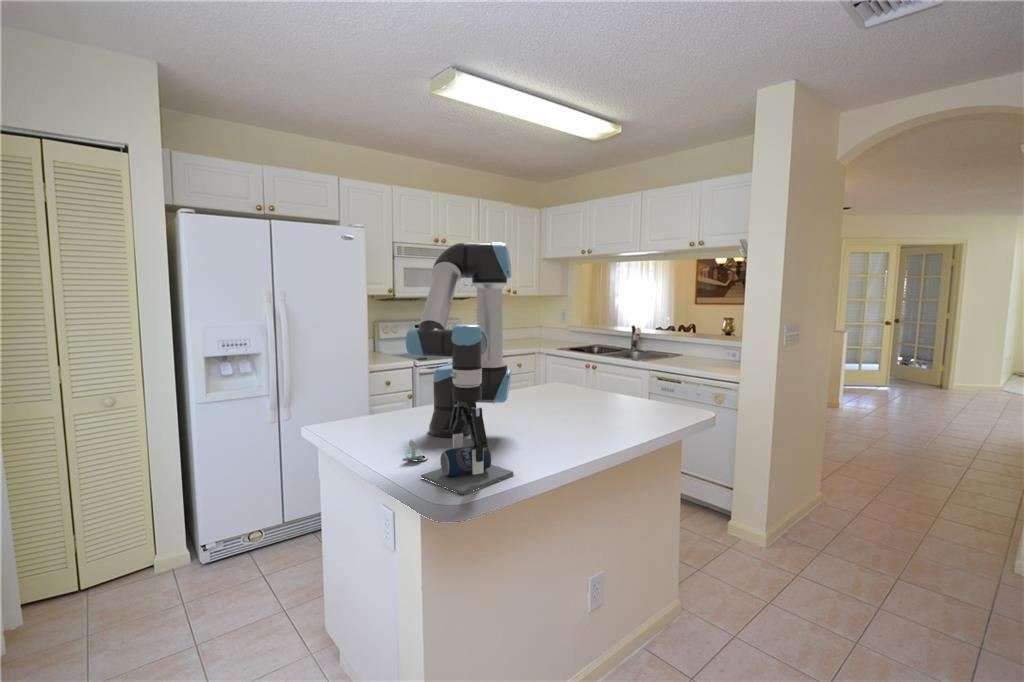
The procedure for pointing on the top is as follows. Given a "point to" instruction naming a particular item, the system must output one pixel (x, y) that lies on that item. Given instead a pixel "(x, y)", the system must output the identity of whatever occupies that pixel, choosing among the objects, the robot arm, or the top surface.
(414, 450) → the pacifier
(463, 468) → the soda can
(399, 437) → the top surface
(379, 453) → the top surface
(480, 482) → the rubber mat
